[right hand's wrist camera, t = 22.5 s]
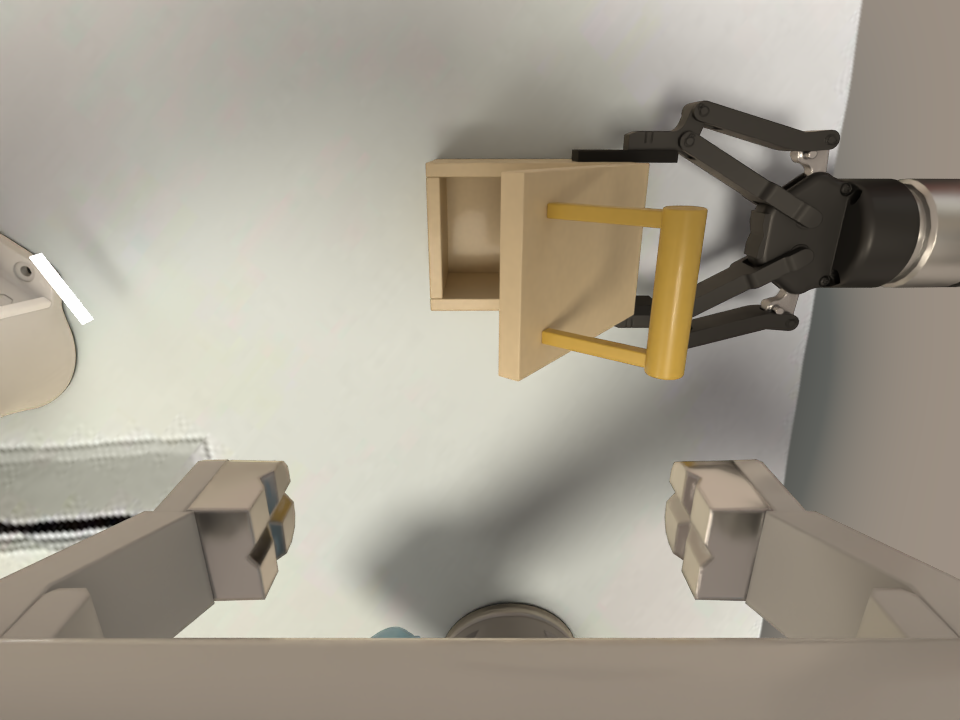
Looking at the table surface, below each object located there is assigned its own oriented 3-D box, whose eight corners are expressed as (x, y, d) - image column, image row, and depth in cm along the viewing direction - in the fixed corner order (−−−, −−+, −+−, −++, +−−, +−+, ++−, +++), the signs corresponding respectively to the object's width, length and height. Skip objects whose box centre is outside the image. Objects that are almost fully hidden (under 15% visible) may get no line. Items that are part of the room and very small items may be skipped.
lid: (497, 376, 28) (660, 422, 23) (500, 171, 24) (692, 177, 20) (616, 311, 38) (745, 334, 34) (630, 162, 35) (775, 165, 30)
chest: (439, 280, 47) (430, 310, 39) (435, 159, 44) (425, 162, 35) (596, 280, 47) (623, 310, 39) (606, 158, 44) (637, 162, 35)
